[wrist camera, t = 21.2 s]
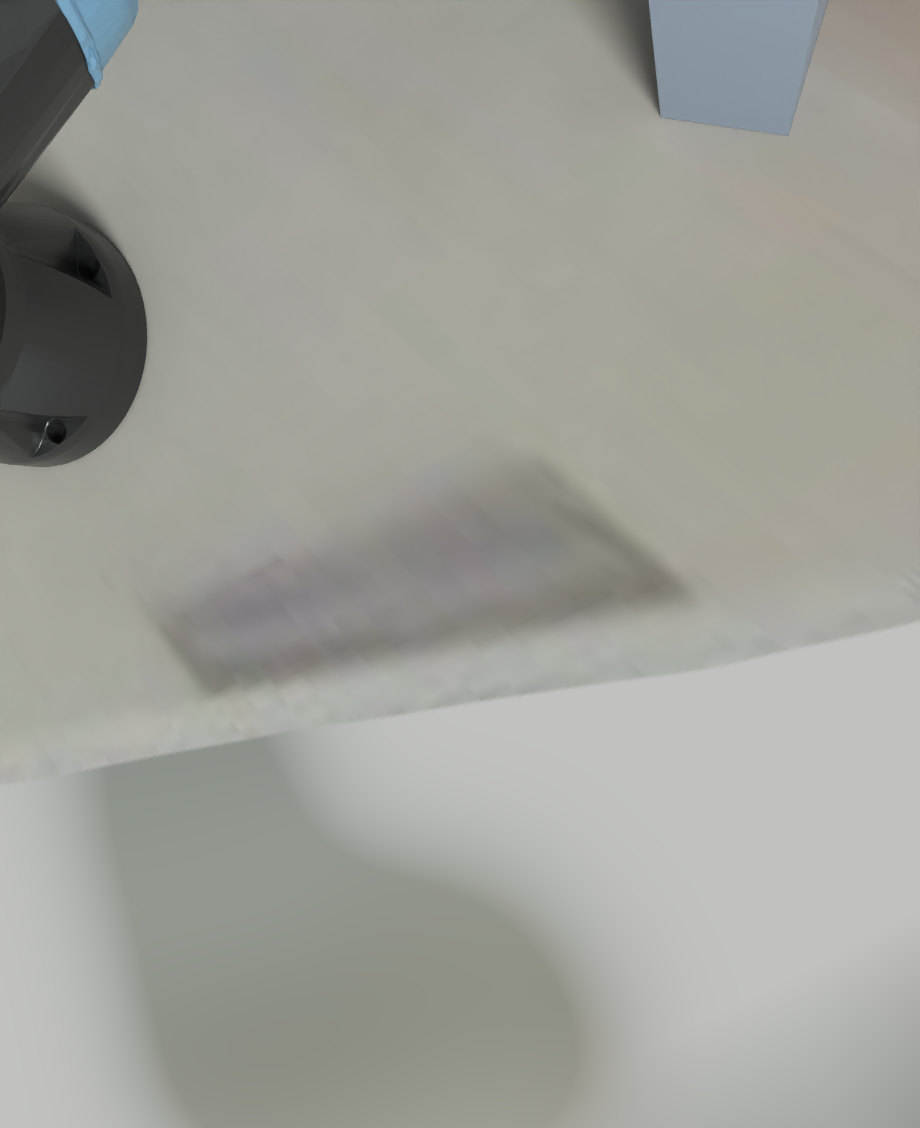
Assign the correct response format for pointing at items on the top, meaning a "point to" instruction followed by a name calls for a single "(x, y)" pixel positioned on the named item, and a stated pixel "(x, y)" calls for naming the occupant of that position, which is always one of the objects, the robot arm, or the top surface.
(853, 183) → the top surface
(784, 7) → the post
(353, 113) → the top surface
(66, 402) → the robot arm
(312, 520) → the top surface
